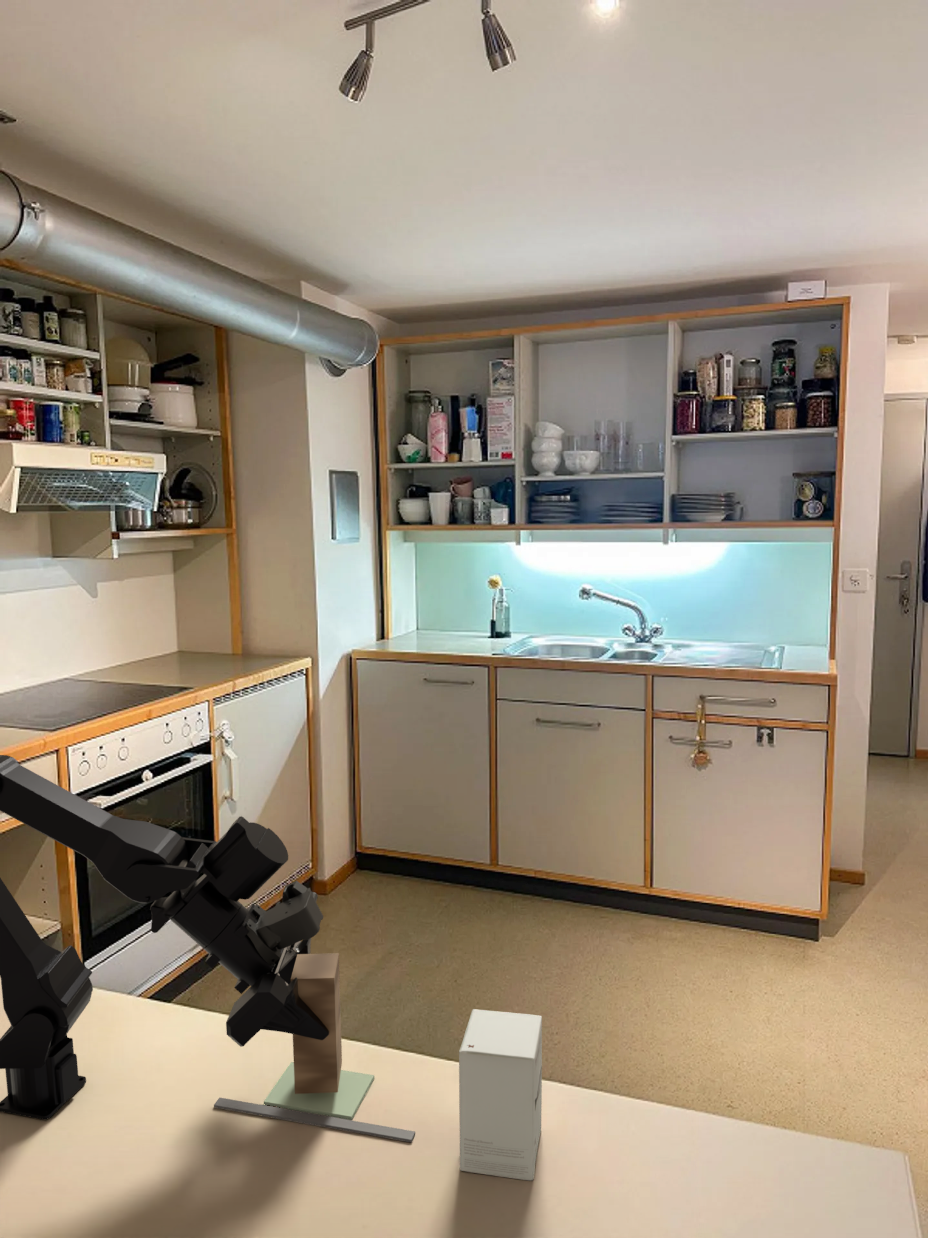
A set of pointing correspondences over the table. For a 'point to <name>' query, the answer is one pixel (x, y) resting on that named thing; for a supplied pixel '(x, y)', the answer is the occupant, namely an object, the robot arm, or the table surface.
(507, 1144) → the supplement box
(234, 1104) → the charcoal strip
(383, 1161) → the table surface
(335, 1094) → the mat
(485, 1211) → the table surface
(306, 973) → the walnut post
